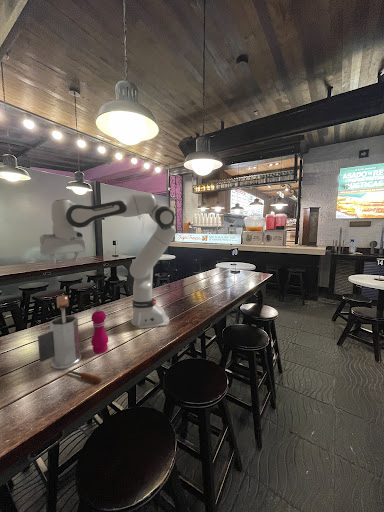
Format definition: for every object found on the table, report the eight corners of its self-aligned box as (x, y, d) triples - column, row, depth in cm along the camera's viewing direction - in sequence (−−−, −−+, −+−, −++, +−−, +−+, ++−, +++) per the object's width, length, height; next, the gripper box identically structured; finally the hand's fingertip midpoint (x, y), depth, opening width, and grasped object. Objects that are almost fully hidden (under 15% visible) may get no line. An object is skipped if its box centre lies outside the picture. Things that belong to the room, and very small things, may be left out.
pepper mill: (95, 346, 102) (93, 305, 100) (110, 345, 103) (108, 305, 100) (89, 354, 95) (86, 311, 93) (105, 354, 96) (104, 310, 93)
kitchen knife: (102, 382, 78) (101, 377, 78) (99, 384, 77) (99, 379, 77) (69, 372, 84) (69, 368, 83) (66, 375, 82) (66, 370, 82)
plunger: (77, 352, 93) (73, 294, 90) (70, 361, 87) (66, 299, 84) (62, 353, 93) (58, 294, 90) (55, 361, 87) (50, 299, 84)
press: (85, 353, 96) (83, 314, 94) (70, 373, 83) (67, 328, 80) (59, 354, 95) (56, 315, 93) (39, 374, 82) (35, 329, 80)
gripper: (43, 234, 93) (45, 265, 95) (87, 233, 110) (88, 260, 112) (36, 234, 96) (38, 264, 98) (79, 233, 114) (81, 259, 115)
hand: (65, 262), depth 105 cm, fingers open, 8 cm apart
